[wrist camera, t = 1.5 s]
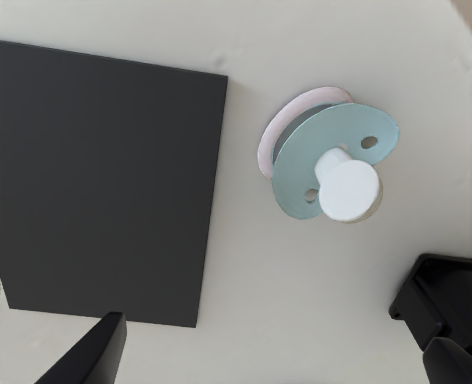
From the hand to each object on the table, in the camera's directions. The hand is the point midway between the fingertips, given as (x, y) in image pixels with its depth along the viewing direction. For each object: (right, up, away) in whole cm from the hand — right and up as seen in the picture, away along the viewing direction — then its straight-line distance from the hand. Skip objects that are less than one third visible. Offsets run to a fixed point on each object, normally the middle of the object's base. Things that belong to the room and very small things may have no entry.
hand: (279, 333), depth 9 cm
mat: (-11, +3, +12) cm, 16 cm away
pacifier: (+3, +7, +9) cm, 12 cm away
